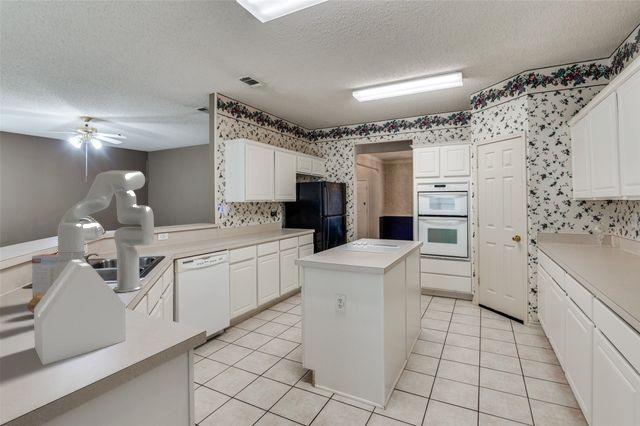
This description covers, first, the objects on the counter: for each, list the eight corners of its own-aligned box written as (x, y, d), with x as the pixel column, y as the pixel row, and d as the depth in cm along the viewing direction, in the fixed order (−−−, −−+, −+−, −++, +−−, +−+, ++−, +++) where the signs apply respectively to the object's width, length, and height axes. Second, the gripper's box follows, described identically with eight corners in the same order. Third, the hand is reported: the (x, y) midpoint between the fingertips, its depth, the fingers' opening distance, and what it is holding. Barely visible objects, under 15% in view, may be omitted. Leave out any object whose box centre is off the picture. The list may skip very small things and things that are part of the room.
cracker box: (74, 301, 134) (73, 254, 134) (61, 305, 128) (60, 256, 128) (45, 300, 136) (45, 253, 135) (31, 304, 130) (31, 255, 129)
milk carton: (42, 365, 80) (41, 271, 80) (34, 347, 90) (33, 264, 90) (125, 341, 95) (124, 261, 94) (110, 328, 105) (109, 256, 104)
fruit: (22, 318, 114) (22, 296, 114) (42, 311, 122) (41, 291, 121) (42, 318, 114) (42, 297, 113) (61, 311, 121) (60, 291, 121)
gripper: (82, 252, 121) (82, 298, 121) (39, 259, 105) (40, 312, 105) (99, 253, 120) (99, 299, 120) (59, 260, 104) (59, 313, 104)
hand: (72, 305), depth 113 cm, fingers closed on fader, 2 cm apart
